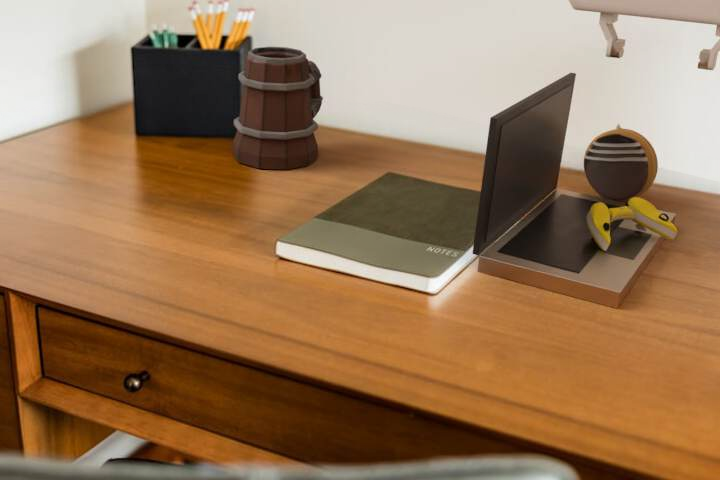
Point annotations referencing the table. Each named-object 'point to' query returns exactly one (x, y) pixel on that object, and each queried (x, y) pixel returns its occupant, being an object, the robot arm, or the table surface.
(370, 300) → the table surface
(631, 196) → the striped round disc
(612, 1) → the robot arm
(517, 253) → the laptop
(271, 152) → the mug
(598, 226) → the game controller
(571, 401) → the table surface
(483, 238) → the laptop screen
